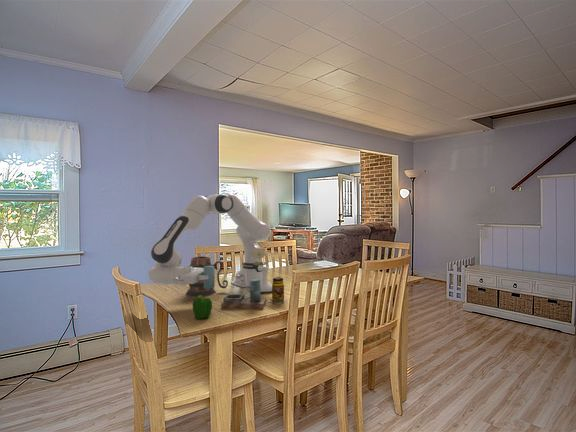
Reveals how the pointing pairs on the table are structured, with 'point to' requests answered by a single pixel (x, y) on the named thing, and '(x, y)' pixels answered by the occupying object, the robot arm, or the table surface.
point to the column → (209, 282)
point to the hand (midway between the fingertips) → (210, 275)
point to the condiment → (277, 291)
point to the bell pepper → (202, 307)
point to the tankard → (198, 287)
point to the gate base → (246, 303)
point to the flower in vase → (259, 254)
